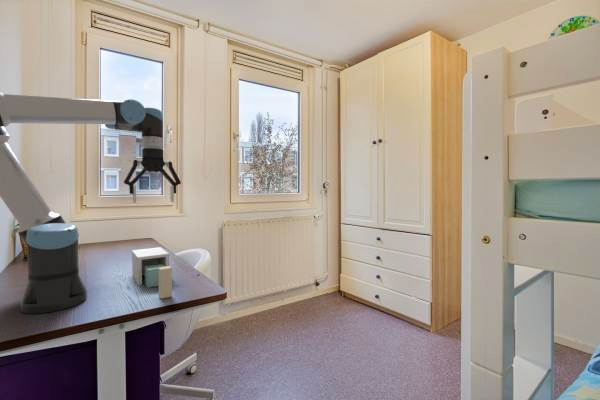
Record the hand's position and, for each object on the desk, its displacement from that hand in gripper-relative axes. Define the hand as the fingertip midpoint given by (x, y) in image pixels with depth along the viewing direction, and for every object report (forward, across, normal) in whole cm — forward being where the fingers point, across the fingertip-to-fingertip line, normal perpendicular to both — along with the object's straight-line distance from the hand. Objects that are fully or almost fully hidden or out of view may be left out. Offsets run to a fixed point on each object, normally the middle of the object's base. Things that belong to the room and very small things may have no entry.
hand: (153, 202), depth 117 cm
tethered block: (+28, -2, -22) cm, 36 cm away
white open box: (+29, -3, -5) cm, 29 cm away
